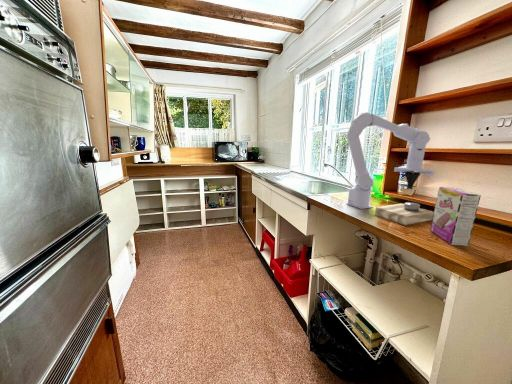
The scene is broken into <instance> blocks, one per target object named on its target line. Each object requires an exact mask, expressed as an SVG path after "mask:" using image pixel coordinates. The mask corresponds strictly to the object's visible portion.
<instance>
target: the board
mask: <svg viewBox="0 0 512 384" xmlns="http://www.w3.org/2000/svg"><path fill="white" fill-rule="evenodd" d="M404 204H405V203H396V204H395V203H394V204H389V205H381V206H375V213H374V215H375V216H377V217H379V218H383V219H386V220H388V221H393V222H395V223H397V224H401V225H404V226H408V225H412V224H418V223H423V222H427V221H432V220H433V216H434V211H432V210H428V209H425V208H419V211H418V212H413V211H407V210H405V209H404Z"/></svg>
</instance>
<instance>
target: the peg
mask: <svg viewBox="0 0 512 384" xmlns="http://www.w3.org/2000/svg"><path fill="white" fill-rule="evenodd" d="M403 204H404V209H405V210H407V211H413V212H418V211H419V208H420V207H421V204H419V203H416V202H410V201H406V202H404V203H403Z"/></svg>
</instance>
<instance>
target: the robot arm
mask: <svg viewBox="0 0 512 384" xmlns="http://www.w3.org/2000/svg"><path fill="white" fill-rule="evenodd" d="M375 126H376V127H378V128H380V129H384V130H387V131H390V132H391V133H392V134H393V136H394V137H397V138H399V139H401V140H404V141H406V142H408V143H409V147H408V148H409V149H408V153H407V154H408V155H407V161H406V166H405V167H396V166H395V167H394V170H393V172H398V173H404V176H405V179H406V183H407V189H410V190H412V189H413V187H414V184H415V183H416V181H417V180H418V178H419V177H420V176H421V174H422V175H432V176H433V175H434V174H435V173H434V172H435V170H434V169H425V168H423V163H424V158H425V152H426V148H427V147H426V145H427V144H428V143H429V142H430V141H431V137H430V134H429V133H428V132H427V131H425V130H420V129H419V128H418V127H417V128H414V127H413V126H412V127H411V126H409V123H401V124H397V123H395V122H392V121H389V120H387V119H386V118H383V117H381V116H379V115H377V114H375V113H369V112H368V111H364V112H361V113H359V114H358V115H356V116H355V117H354V118H353V119H352V121H351V122H350V126H349V127H348V131H347V133H346V138H347V142H348V146H349V149H350V154H351V158H352V163H353V166H354V169H355V170H354V171H355V174H354V175H355V179H354V182H355V186H354V187H350V189H349V191H348V198H347V202H346V204H347V205H349V206H352V207H353V208H354V207H355V208H358V209H360V210H361V209H362V210H365V209H370V208H374V206H373V205H370V200H371V199H370V198H371V194H372V187H373V186H374V180H373V178H372V177H371V176H370V173H369V171H368V168H367V164H366V159H365V157H364V152H363V148H362V143H361V139H360V135H361V134H362V133H363V131H364V130H365V129H366V128H368V127H375Z"/></svg>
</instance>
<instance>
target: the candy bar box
mask: <svg viewBox="0 0 512 384" xmlns="http://www.w3.org/2000/svg"><path fill="white" fill-rule="evenodd" d="M481 197H482V195H481V194H479V193H474V192H473V191H472V192H471V191H468V190H464V189H462V188H458V187H454V186H452V187H451V186H439V187H438V190H437V197H436V200H435V201H436V202H435V206H434V211H433V217H432V220H431V221H432V222H431V226H430V230H429V232H431V233H433V234H434V235H435V236H437V237H438V238H440V239H442V240H443V241H445V242H446V243H447V244H449V245H450V246H455V247H456V246H457V247H469V244H470V240H471V236H472V232H473V229H474V228H473V227H474V225H475V220H476V216H477V211H478V209H479V204H480V201H481Z"/></svg>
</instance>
